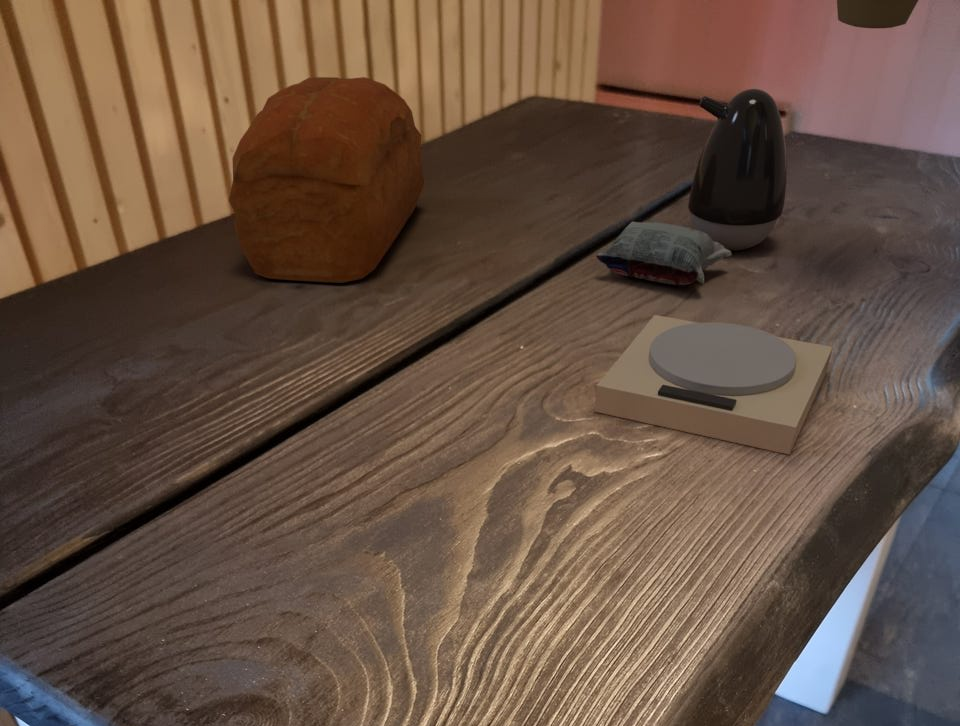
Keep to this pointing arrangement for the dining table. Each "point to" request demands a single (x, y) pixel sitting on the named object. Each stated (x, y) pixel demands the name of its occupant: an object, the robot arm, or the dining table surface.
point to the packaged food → (662, 253)
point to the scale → (716, 382)
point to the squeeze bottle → (875, 12)
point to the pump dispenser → (740, 171)
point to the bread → (325, 179)
